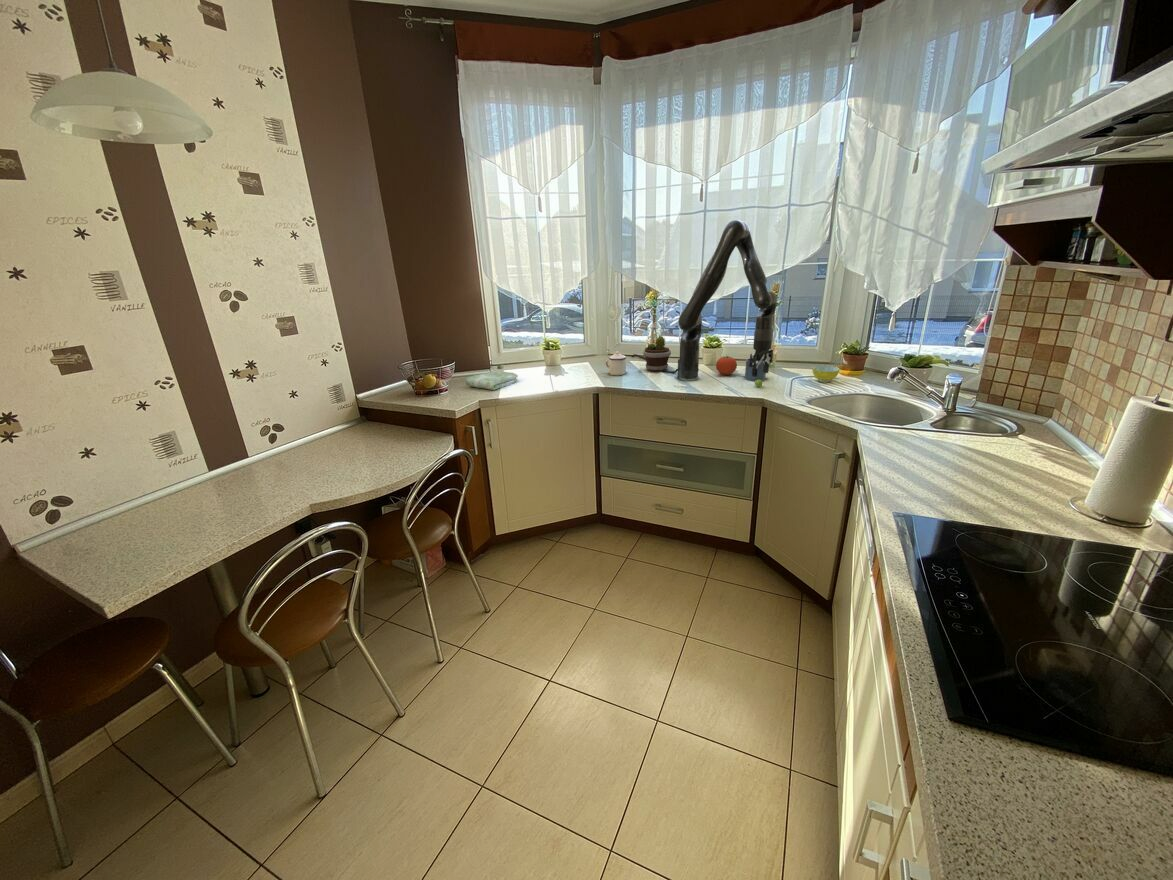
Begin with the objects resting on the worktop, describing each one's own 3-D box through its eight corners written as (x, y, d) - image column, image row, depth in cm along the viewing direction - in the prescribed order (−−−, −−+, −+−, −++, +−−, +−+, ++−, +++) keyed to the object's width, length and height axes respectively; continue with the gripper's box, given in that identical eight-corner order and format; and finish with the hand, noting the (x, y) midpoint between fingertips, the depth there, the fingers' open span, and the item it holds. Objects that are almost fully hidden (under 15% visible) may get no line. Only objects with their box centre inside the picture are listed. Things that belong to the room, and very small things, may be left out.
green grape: (752, 386, 218) (753, 379, 217) (757, 385, 220) (757, 378, 219) (759, 388, 216) (760, 380, 215) (763, 386, 218) (764, 379, 217)
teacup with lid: (629, 372, 255) (629, 350, 251) (620, 376, 248) (620, 354, 244) (610, 370, 262) (609, 349, 257) (601, 374, 255) (600, 352, 251)
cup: (740, 378, 233) (742, 360, 230) (752, 375, 238) (753, 357, 235) (757, 381, 226) (759, 363, 223) (769, 378, 231) (771, 359, 228)
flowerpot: (638, 368, 262) (638, 332, 255) (663, 365, 266) (664, 329, 259) (649, 374, 249) (649, 336, 242) (675, 371, 253) (676, 333, 246)
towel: (519, 381, 249) (519, 371, 247) (493, 391, 232) (491, 381, 230) (493, 378, 257) (492, 368, 256) (465, 388, 241) (464, 378, 239)
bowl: (811, 383, 218) (813, 370, 216) (810, 377, 228) (811, 365, 226) (839, 385, 215) (841, 371, 212) (836, 378, 225) (838, 365, 222)
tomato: (739, 373, 242) (741, 354, 239) (730, 377, 235) (732, 357, 231) (720, 371, 249) (721, 352, 245) (711, 375, 241) (712, 355, 238)
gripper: (764, 335, 217) (762, 370, 223) (745, 340, 209) (743, 376, 215) (779, 337, 211) (776, 372, 217) (760, 341, 203) (758, 378, 209)
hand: (760, 374), depth 216 cm, fingers open, 8 cm apart
